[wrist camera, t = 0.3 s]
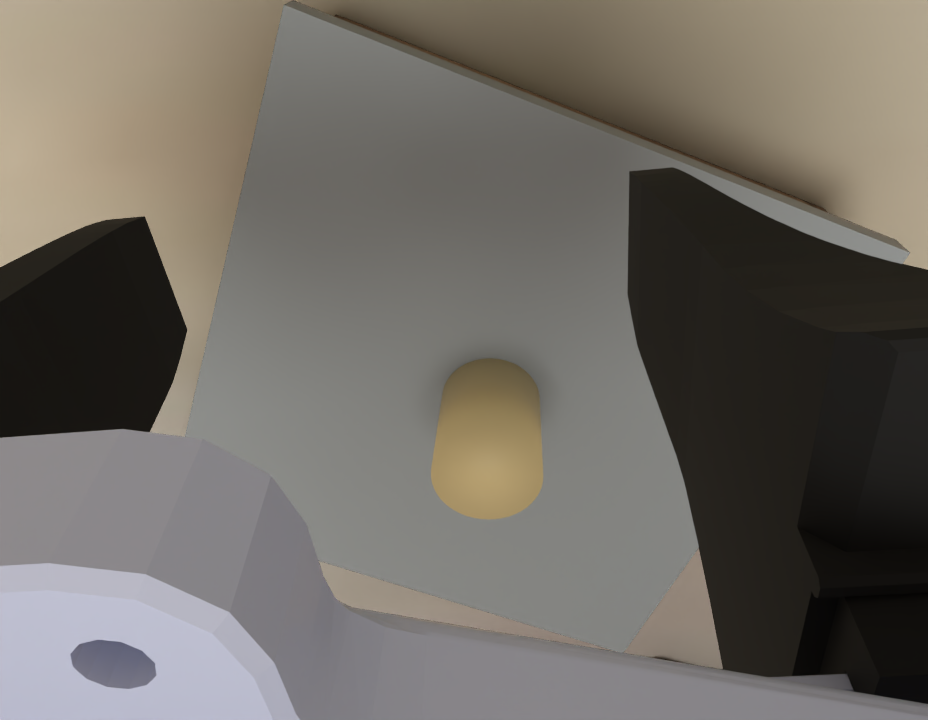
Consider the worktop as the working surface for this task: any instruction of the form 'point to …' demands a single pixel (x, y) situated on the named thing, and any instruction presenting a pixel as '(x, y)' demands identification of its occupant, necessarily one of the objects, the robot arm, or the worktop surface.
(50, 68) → the worktop surface
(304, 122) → the lid
